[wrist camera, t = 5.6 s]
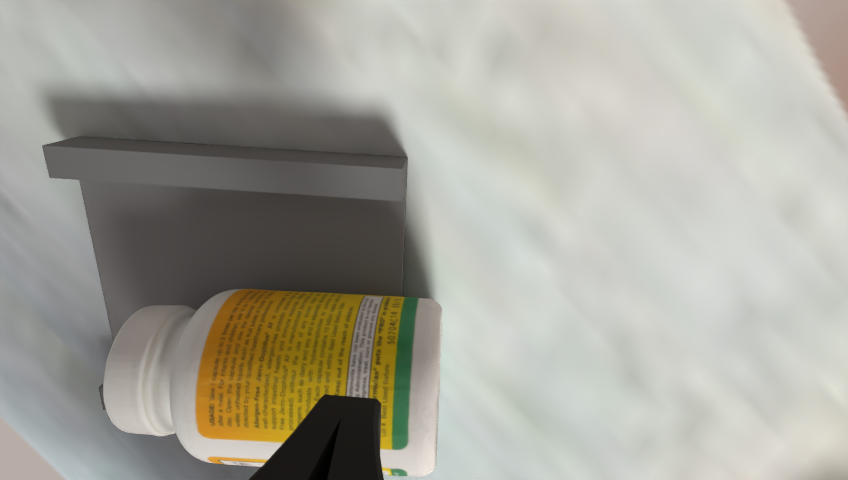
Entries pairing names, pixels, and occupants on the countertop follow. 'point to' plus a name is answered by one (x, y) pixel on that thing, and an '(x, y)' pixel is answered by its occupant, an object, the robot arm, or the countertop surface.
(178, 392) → the supplement bottle
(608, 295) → the countertop surface
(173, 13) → the countertop surface
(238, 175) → the stand
